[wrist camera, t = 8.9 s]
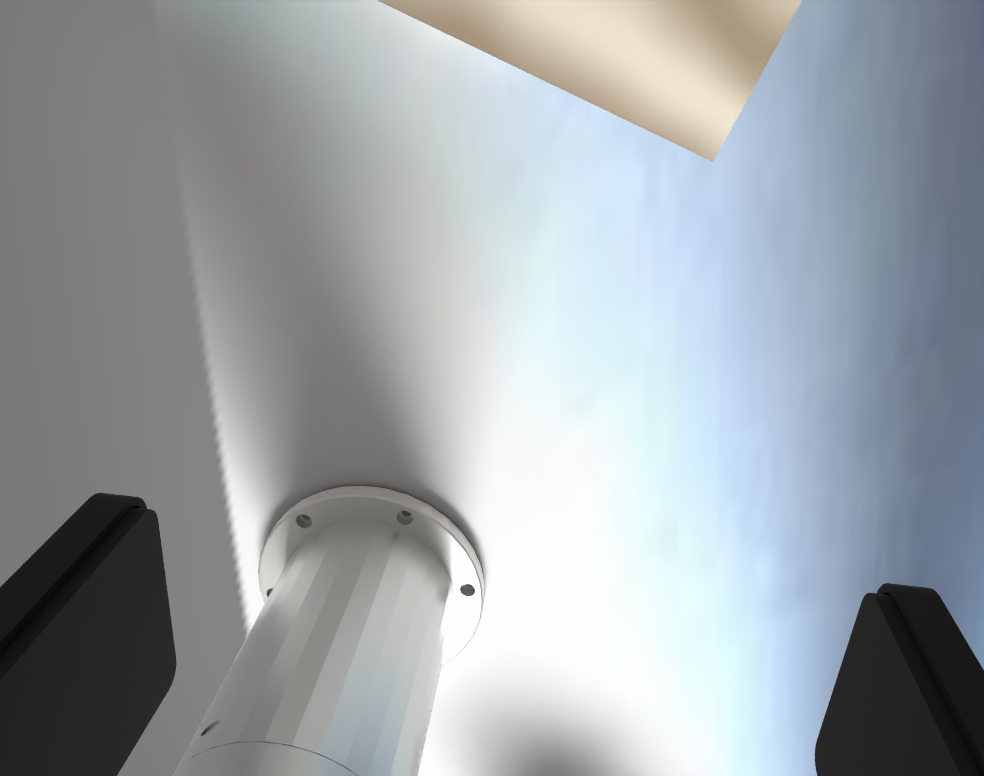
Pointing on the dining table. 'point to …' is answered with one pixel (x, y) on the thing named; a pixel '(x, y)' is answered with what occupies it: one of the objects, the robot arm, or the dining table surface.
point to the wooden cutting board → (630, 53)
